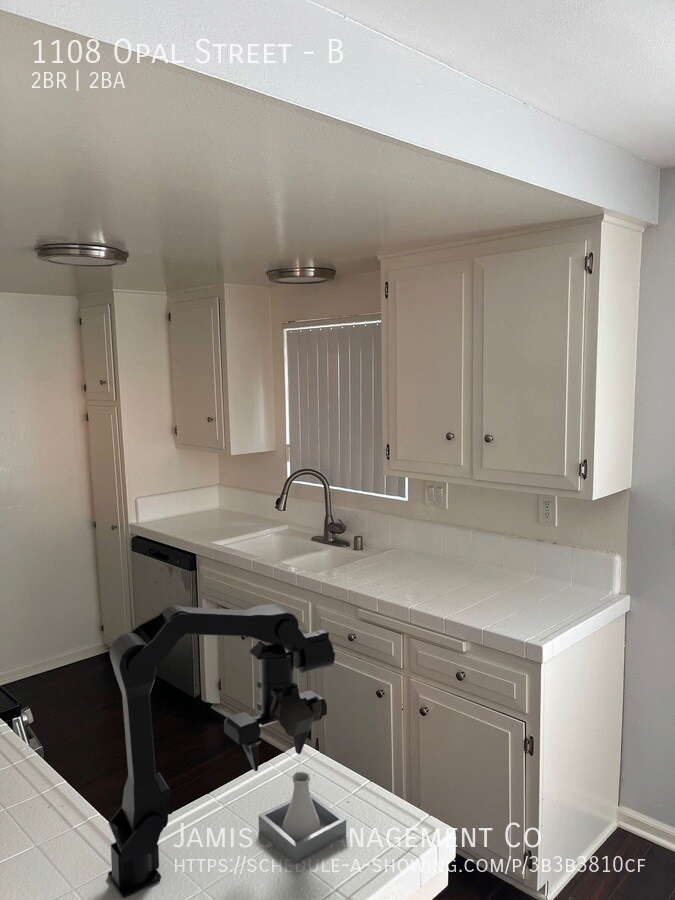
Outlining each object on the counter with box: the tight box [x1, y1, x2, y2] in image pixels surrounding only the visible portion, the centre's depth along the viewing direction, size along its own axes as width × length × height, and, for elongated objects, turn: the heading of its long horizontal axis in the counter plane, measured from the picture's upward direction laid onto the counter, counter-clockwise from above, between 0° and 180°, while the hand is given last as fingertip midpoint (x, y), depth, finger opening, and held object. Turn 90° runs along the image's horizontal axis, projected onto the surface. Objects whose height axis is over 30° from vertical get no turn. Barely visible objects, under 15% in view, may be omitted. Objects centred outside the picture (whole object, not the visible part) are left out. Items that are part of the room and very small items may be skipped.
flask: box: [282, 771, 321, 842], centre depth 121 cm, size 7×7×10 cm
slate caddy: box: [258, 791, 347, 865], centre depth 121 cm, size 11×11×3 cm
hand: (277, 761), depth 123 cm, fingers open, 9 cm apart
